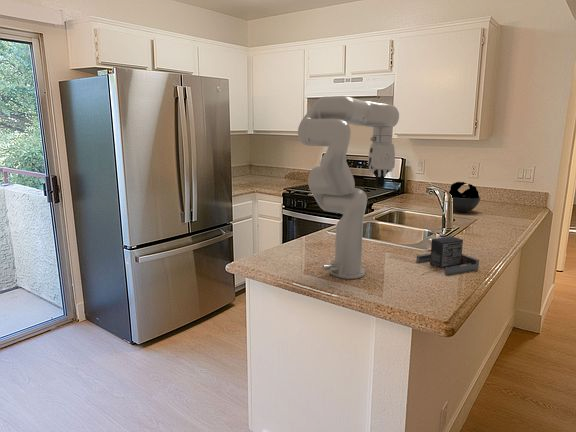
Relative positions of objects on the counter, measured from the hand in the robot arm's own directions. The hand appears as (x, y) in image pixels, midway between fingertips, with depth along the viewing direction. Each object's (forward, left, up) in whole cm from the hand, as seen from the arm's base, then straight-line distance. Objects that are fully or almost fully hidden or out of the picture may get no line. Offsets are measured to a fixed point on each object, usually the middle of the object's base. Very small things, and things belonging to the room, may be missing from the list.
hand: (379, 186), depth 170 cm
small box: (+19, -20, -29) cm, 40 cm away
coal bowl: (+105, +56, -29) cm, 123 cm away
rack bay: (+18, -21, -29) cm, 40 cm away
